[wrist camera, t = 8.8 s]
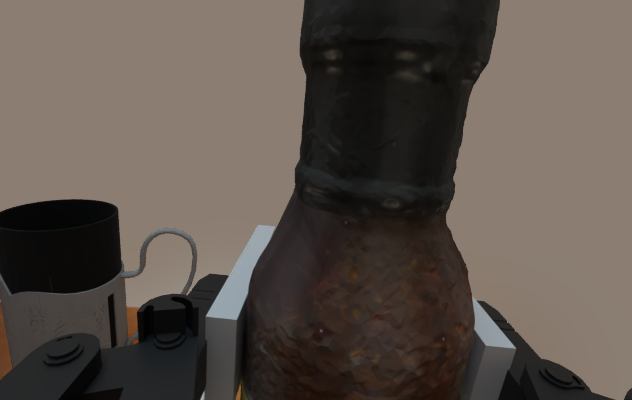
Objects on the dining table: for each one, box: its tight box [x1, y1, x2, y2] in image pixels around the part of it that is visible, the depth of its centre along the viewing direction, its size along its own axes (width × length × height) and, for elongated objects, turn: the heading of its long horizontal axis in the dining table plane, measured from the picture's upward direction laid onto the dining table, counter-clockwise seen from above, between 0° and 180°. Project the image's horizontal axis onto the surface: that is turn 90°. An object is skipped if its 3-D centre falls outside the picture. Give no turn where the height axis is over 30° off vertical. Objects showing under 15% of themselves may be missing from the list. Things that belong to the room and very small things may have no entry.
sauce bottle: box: [240, 0, 500, 400], centre depth 10 cm, size 6×6×20 cm
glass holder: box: [0, 199, 197, 368], centre depth 27 cm, size 9×14×15 cm, turn 105°
